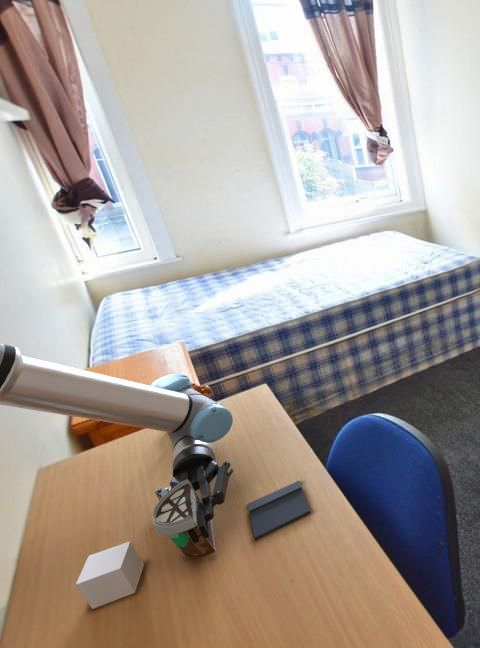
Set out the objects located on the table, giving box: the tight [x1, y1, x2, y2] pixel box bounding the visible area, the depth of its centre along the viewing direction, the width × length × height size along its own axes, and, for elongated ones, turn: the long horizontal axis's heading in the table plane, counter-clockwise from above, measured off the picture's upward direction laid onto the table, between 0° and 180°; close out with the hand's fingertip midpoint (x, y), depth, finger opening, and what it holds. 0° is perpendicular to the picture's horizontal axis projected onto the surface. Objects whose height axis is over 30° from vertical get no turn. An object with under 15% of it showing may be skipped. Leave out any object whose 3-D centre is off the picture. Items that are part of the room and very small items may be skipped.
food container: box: [152, 479, 217, 559], centre depth 84 cm, size 12×6×10 cm, turn 35°
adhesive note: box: [75, 540, 145, 610], centre depth 80 cm, size 6×6×6 cm
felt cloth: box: [247, 480, 311, 541], centre depth 93 cm, size 10×10×1 cm
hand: (198, 534), depth 80 cm, fingers closed on food container
